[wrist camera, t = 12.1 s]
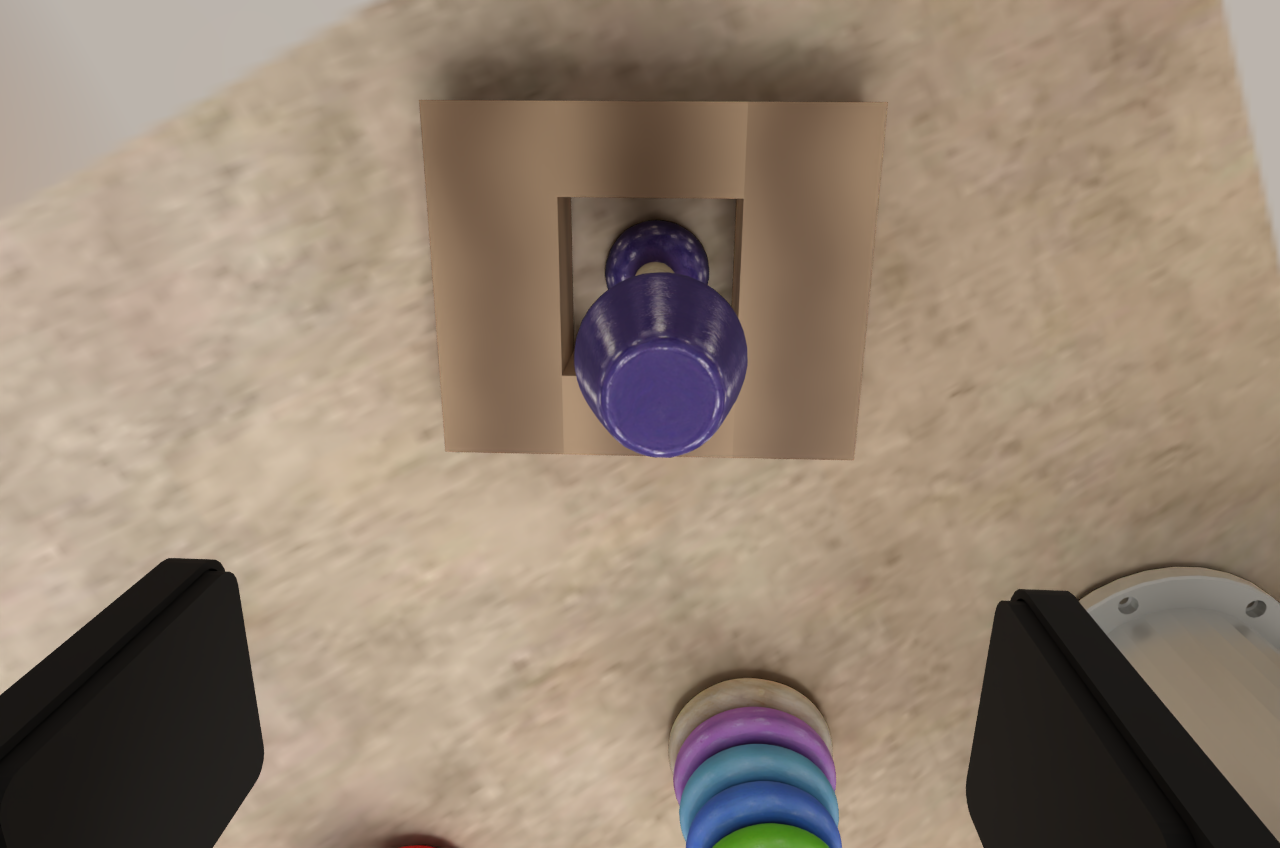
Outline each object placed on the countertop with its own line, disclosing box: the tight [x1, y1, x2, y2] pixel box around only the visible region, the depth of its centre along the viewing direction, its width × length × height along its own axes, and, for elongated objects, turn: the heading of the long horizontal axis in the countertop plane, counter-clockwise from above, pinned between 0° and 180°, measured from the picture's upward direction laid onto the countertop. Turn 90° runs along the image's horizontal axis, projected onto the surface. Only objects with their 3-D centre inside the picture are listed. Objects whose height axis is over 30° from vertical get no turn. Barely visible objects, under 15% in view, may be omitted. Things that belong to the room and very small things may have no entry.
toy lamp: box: [574, 220, 748, 458], centre depth 27 cm, size 5×5×17 cm
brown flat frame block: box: [419, 100, 888, 460], centre depth 33 cm, size 16×13×4 cm
